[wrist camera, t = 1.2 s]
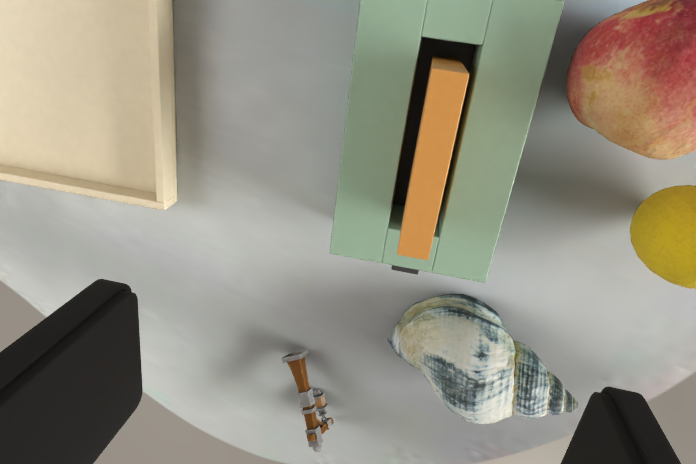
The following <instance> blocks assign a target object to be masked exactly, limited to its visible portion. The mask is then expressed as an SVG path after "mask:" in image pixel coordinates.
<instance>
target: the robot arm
mask: <svg viewBox="0 0 696 464" xmlns="http://www.w3.org/2000/svg"><path fill="white" fill-rule="evenodd" d="M141 396H142V374H141V355H140V337H139V319H138V300H137V296H136V294H135V293H132V292H131V289H130V287H129V286H128V285H127V284H123V283H119V282H114V281H109V280H104V279H99V280H97V281H95V282H94V283H92V284H91V285H89V286H88V287H87V288H85V289H84V290H83V291H81V292H80V293H79V294H77V295H76V296H75V297H73V298H72V299H71V300H69V301H68V302H67V303H65V304H64V305H63V306H61V307H60V308H59V309H57V310H56V311H55V312H53V313H52V314H51V315H49V316H48V317H47V318H46V319H44V320H43V321H41V322H40V323H39V324H38V325H36V326H35V327H33V328H32V329H31V330H29V331H28V332H27V333H25V334H24V335H23V336H21V337H20V338H19V339H17V340H16V341H15V342H13V343H12V344H11V345H10V346H8V347H7V348H5V349H4V350H3V351H1V352H0V464H93V463H94V462H95V461H96V459H97V458H98V456H99V455H100V454H101V453H102V451H103V450H104V449H105V448H106V446H107V445H108V444H109V443H110V441H111V440H112V439H113V438H114V436H115V435H116V434H117V432H118V431H119V430H120V429H121V427H122V426H123V425H124V423H125V422H126V421H127V420H128V418H129V417H130V416H131V414H132V413H133V412H134V411H135V409H136V408H137V406H138V404H139V402H140V400H141ZM561 464H681V463H680V461H679V459H678V457H677V456H676V454H675V452H674V450H673V449H672V447H671V445H670V443H669V442H668V440H667V438H666V436H665V434H664V433H663V431H662V429H661V427H660V425H659V424H658V422H657V420H656V418H655V417H654V415H653V413H652V411H651V409H650V408H649V406H648V404H647V402H646V401H645V399H644V398H643V396H642V395H641V394H639V393H636V392H631V391H626V390H622V389H617V388H612V387H605V388H604V389H603V390H602V391H601V393H599V392H594V393H593V394H592V396H591V397H590V399H589V402H588V404H587V406H586V408H585V411H584V413H583V415H582V417H581V420H580V422H579V424H578V426H577V429H576V431H575V433H574V435H573V438H572V440H571V442H570V445H569V447H568V449H567V451H566V453H565V456H564V458H563V460H562V462H561Z"/></svg>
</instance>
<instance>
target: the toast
mask: <svg viewBox="0 0 696 464" xmlns="http://www.w3.org/2000/svg"><path fill="white" fill-rule="evenodd" d="M468 79H469V73H468V71H467V70H466V68H465V67H464V65H463V64H462V62H461V61H460V59H459V58H456V57H449V56H442V55H435V54H433V56H432V61H431V67H430V72H429V77H428V83H427V88H426V93H425V99H424V104H423V109H422V115H421V120H420V125H419V131H418V136H417V141H416V147H415V152H414V157H413V163H412V168H411V174H410V179H409V184H408V190H407V195H406V201H405V207H404V214H403V220H402V226H401V232H400V238H399V244H398V250H397V255H401V256H406V257H412V258H417V259H423V260H429V256H430V251H431V246H432V242H433V237H434V233H435V228H436V224H437V219H438V215H439V210H440V206H441V201H442V197H443V192H444V187H445V183H446V178H447V174H448V169H449V165H450V160H451V156H452V151H453V147H454V142H455V138H456V133H457V129H458V124H459V119H460V115H461V110H462V106H463V101H464V97H465V92H466V88H467V83H468Z"/></svg>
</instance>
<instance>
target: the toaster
mask: <svg viewBox="0 0 696 464" xmlns="http://www.w3.org/2000/svg"><path fill="white" fill-rule="evenodd" d="M564 3H565V2H564V1H563V0H360V8H359V16H358V25H357V33H356V41H355V49H354V57H353V65H352V73H351V82H350V90H349V98H348V106H347V114H346V122H345V130H344V139H343V147H342V155H341V163H340V171H339V179H338V187H337V196H336V204H335V212H334V220H333V228H332V236H331V244H330V254H336V255H341V256H346V257H351V258H357V259H362V260H367V261H373V262H378V263H381V262H382V263H384V264H389V265H392V270H397V271H402V272H407V273H413V274H418V272H419V270H421V271H426V272H431V271H432V273H437V274H442V275H447V276H453V277H458V278H463V279H468V280H474V281H479V282H486V279H487V276H488V272H489V269H490V265H491V262H492V258H493V254H494V251H495V247H496V244H497V240H498V237H499V233H500V230H501V226H502V223H503V219H504V216H505V212H506V208H507V205H508V201H509V198H510V194H511V191H512V187H513V184H514V180H515V177H516V173H517V170H518V166H519V162H520V159H521V155H522V152H523V148H524V145H525V141H526V138H527V134H528V131H529V127H530V124H531V120H532V116H533V113H534V109H535V106H536V102H537V99H538V95H539V92H540V88H541V85H542V81H543V78H544V74H545V70H546V67H547V63H548V60H549V56H550V53H551V49H552V46H553V42H554V39H555V35H556V32H557V28H558V24H559V21H560V17H561V14H562V10H563V7H564ZM433 54H435V55H442V56H449V57H456V58H459V59H460V61H461V62H462V64H463V65H464V67H465V68H466V70H467V71H468V73H469V79H468V83H467V88H466V92H465V97H464V101H463V106H462V110H461V115H460V119H459V124H458V129H457V133H456V138H455V142H454V147H453V151H452V156H451V160H450V165H449V169H448V174H447V178H446V183H445V187H444V192H443V197H442V201H441V206H440V210H439V215H438V219H437V224H436V228H435V233H434V237H433V242H432V246H431V251H430V256H429V260H423V259H417V258H412V257H406V256H401V255H397V250H398V244H399V238H400V232H401V226H402V220H403V214H404V207H405V201H406V195H407V190H408V184H409V179H410V174H411V168H412V163H413V157H414V152H415V147H416V141H417V136H418V131H419V125H420V120H421V115H422V109H423V104H424V99H425V93H426V88H427V83H428V77H429V72H430V67H431V61H432V56H433Z"/></svg>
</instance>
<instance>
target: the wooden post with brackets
mask: <svg viewBox="0 0 696 464" xmlns="http://www.w3.org/2000/svg"><path fill="white" fill-rule="evenodd" d="M308 354H309V353H308V349H307V350H302V351H298V352H293V353H289V354H288V355H286V356H284V357H283V358H281V359H282V361H283V363H284V362H287V363H288V365H289V367H290V369H291V371H292V374H293V376H294V379H295V381H296V384H297V387H298V391H299V393H298V397H299V401H300V408H303V410H302V411H301V412H302V415H303V414H304V416H305V421H306V425H307V430H306V434H307V439H308V443H309V447H312V446H313V450H314V451H316V452H319V451H320V450H321V448H322V445H321V443H322V442H323V439H322V434H323V433H324V432H325V431H326V430H327V429H330V428H331V427H332V426H331V425H332V424H333V419H332V417H331V418H326V417H325V414H326V413H327V412H324V411H325V410H324V409H325V408H326V407H327V406H328V405H329V404H326V403H325V397H324V394H325V393H321V391H320V390H319V389H315V390H314V396H313V393H312V388H310V386H309V382H308V377H307V370H306V363H305V356H306V355H308ZM314 405H315V406H314ZM315 411H319V413H320V414H319V416H322V421H321V422H320V421H319V420H318V419H317V418H316V413H315ZM323 416H324V417H323ZM324 418H326V419H325V420H323V419H324Z"/></svg>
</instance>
